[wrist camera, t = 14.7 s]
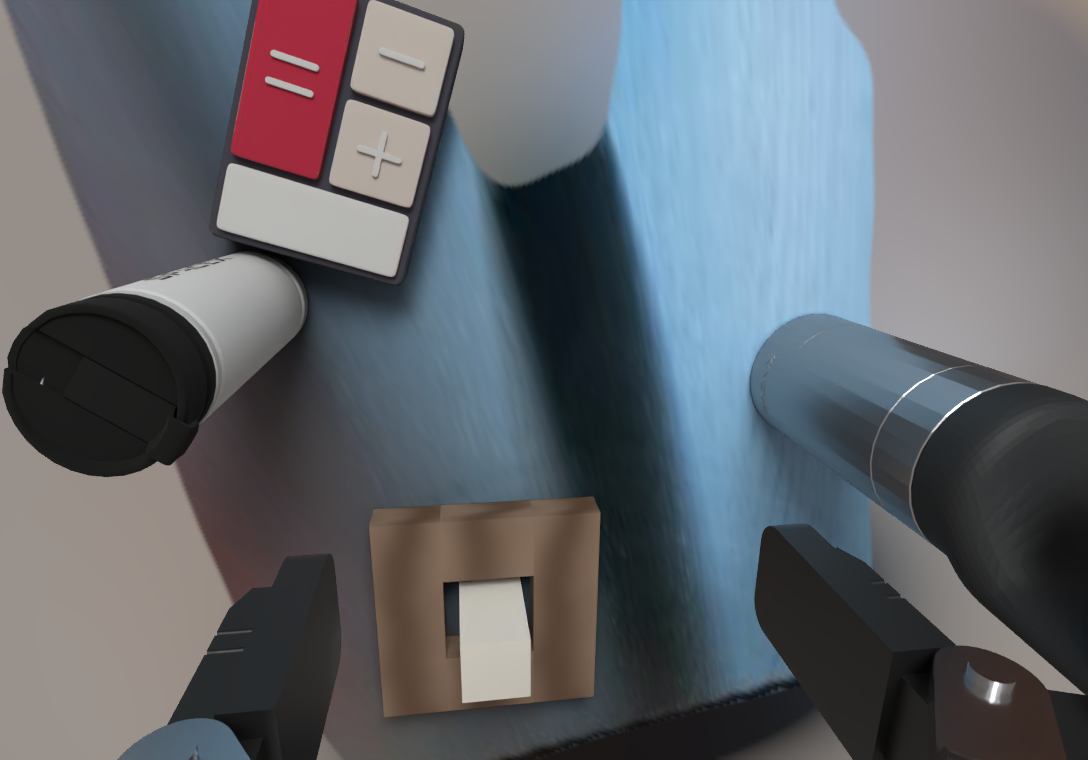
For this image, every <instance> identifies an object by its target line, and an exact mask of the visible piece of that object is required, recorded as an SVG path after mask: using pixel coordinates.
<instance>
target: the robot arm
mask: <svg viewBox="0 0 1088 760" xmlns="http://www.w3.org/2000/svg"><path fill="white" fill-rule="evenodd" d="M751 393H752V397H753V402H754V404H755V406H756V408H757V410H758V412H759V413H760V414H761V416H762V417H763V418H764V419H765V420H766V421H767V422H768V423H769V424H771V425H772V426H773V427H775V428H776V429H777V430H779V431H780V432H781V433H783V434H784V435H785V436H787V437H788V438H789V439H791V440H792V441H793V442H794V443H796V444H797V445H798V446H800V447H801V448H802V449H804V450H805V451H806V452H808V453H809V454H810V455H812V456H813V457H814V458H816V459H817V460H818V461H820V462H821V463H823V464H824V465H825V466H827V467H828V468H829V469H831V470H832V471H833V472H835V473H836V474H837V475H839V476H840V477H841V478H843V479H844V480H845V481H847V482H848V483H849V484H851V485H852V486H854V487H855V488H856V489H858V490H859V491H860V492H862V493H863V494H864V495H866V496H867V497H868V498H870V499H871V500H872V501H874V502H875V503H876V504H878V505H879V506H881V507H882V508H883V509H885V510H886V511H887V512H889V513H890V514H891V515H893V516H895V517H896V518H897V519H898V520H900V521H901V522H902V523H904V524H905V525H907V526H908V527H909V528H911V529H912V530H913V531H915V532H916V533H917V534H919V535H920V536H921V537H923V538H924V539H925V540H927V541H928V542H929V543H931V544H932V545H934V546H935V547H936V548H938V549H939V550H940V551H942V552H943V553H944V554H945V555H947V557H948V559H949V561H950V562H951V564H952V566H953V568H954V570H955V572H956V573H957V575H958V577H959V579H960V580H961V581H962V583H963V584H964V586H965V587H966V588H967V589H968V590H969V592H970V593H971V594H972V595H973V596H974V597H975V598H976V599H977V600H978V601H979V602H980V603H981V604H982V605H983V606H984V607H985V608H986V609H988V610H989V611H990V612H991V613H992V614H993V615H994V616H996V617H997V618H998V619H999V620H1000V621H1001V622H1003V623H1004V624H1005V625H1006V626H1007V627H1008V628H1009V629H1011V630H1012V631H1013V632H1014V633H1015V634H1016V635H1017V636H1019V637H1020V638H1021V639H1022V640H1023V641H1024V642H1025V643H1027V644H1028V645H1029V646H1030V647H1031V648H1032V649H1034V650H1035V651H1036V652H1037V653H1038V654H1039V655H1040V656H1042V657H1043V658H1044V659H1045V660H1046V661H1047V662H1048V663H1050V664H1051V665H1052V666H1053V667H1054V668H1055V669H1057V670H1058V671H1059V672H1060V673H1061V674H1062V675H1063V676H1064V677H1066V678H1067V679H1068V680H1069V681H1070V682H1071V683H1072V684H1074V685H1075V686H1076V687H1077V688H1078V689H1079V690H1080V691H1082V692H1083V693H1084V694H1085V695H1080V694H1073V693H1066V692H1059V691H1052V690H1047V689H1046V688H1045V686H1044V685H1043V684H1042V683H1041V681H1040V680H1039V679H1038V678H1037V677H1036V676H1034V675H1033V674H1032V673H1031V672H1030V671H1028V670H1027V669H1025V668H1024V667H1022V666H1021V665H1019V664H1018V663H1016V662H1014V661H1012V660H1010V659H1008V658H1006V657H1004V656H1001V655H999V654H997V653H994V652H991V651H988V650H985V649H981V648H977V647H971V646H957V645H955V644H954V643H953V642H952V641H951V640H950V639H949V638H948V637H947V636H945V635H944V634H943V633H942V632H941V631H940V630H939V629H938V628H937V627H936V626H934V625H933V624H932V623H931V622H930V621H929V620H928V619H927V618H926V617H924V616H923V615H922V614H921V613H920V612H919V611H918V610H917V609H915V607H913V606H912V605H911V604H910V603H909V602H908V601H907V600H906V599H904V598H901V597H900V594H899V593H898V592H897V591H896V590H895V589H893V588H892V587H891V586H890V585H889V584H888V583H886V584H885V583H884V579H882V578H881V577H880V576H879V575H878V574H877V573H876V572H875V571H874V570H873V569H872V568H870V567H869V566H868V565H867V564H866V563H865V562H863V561H861V560H859V559H858V558H856V557H854V556H852V555H850V554H848V553H846V552H845V551H843V550H841V549H839V548H834V547H833V546H831V545H830V544H829V543H828V542H827V541H826V540H825V539H824V538H823V537H822V536H821V535H820V534H819V533H818V532H817V531H816V530H814V529H813V528H812V527H811V526H810V525H808V524H793V525H778V526H768V527H766V528H765V530H764V531H763V534H762V538H761V546H760V555H759V563H758V571H757V580H756V588H755V610H756V615H757V619H758V622H759V624H760V626H761V629H762V630H763V632H764V633H765V635H766V636H767V638H768V639H769V641H770V642H771V643H772V645H773V646H774V648H775V649H776V651H777V652H778V653H779V655H780V656H781V658H782V659H783V661H784V662H785V663H786V665H787V666H788V668H789V669H790V670H791V672H792V673H793V675H794V676H795V678H796V679H797V680H798V682H799V683H800V685H801V686H802V688H803V689H804V690H805V692H806V693H807V695H808V696H809V698H810V699H811V700H812V702H813V703H814V705H815V706H816V708H817V709H818V710H819V712H820V713H821V715H822V716H823V717H824V719H825V720H826V722H827V723H828V725H829V726H830V727H831V729H832V730H833V732H834V733H835V735H836V736H837V737H838V739H839V740H840V742H841V743H842V745H843V746H844V747H845V749H846V750H847V752H848V753H849V755H850V756H851V757H852V759H853V760H1088V401H1087V400H1085V399H1082V398H1080V397H1077V396H1075V395H1071V394H1068V393H1066V392H1062V391H1059V390H1056V389H1053V388H1050V387H1047V386H1043V385H1039V384H1037V383H1033V382H1031V381H1027V380H1025V379H1022V378H1019V377H1016V376H1013V375H1010V374H1006V373H1004V372H1001V371H997V370H995V369H992V368H989V367H985V366H982V365H979V364H976V363H973V362H970V361H966V360H964V359H961V358H958V357H955V356H952V355H949V354H946V353H943V352H940V351H937V350H934V349H931V348H928V347H925V346H922V345H919V344H916V343H913V342H910V341H907V340H904V339H901V338H898V337H895V336H893V335H890V334H886V333H884V332H881V331H877V330H875V329H872V328H870V327H866V326H863V325H860V324H857V323H854V322H851V321H848V320H845V319H842V318H839V317H836V316H832V315H827V314H810V315H806V316H802V317H798V318H796V319H794V320H792V321H790V322H787V323H786V324H785V325H783V326H782V327H780V328H779V329H777V330H776V331H775V332H774V333H773V334H772V335H771V336H770V337H769V338H768V339H767V340H766V342H765V343H764V345H763V346H762V348H761V349H760V351H759V353H758V355H757V357H756V360H755V362H754V364H753V369H752V374H751ZM340 652H341V626H340V616H339V606H338V596H337V586H336V575H335V566H334V560H333V557H332V555H331V554H318V555H303V556H288V557H286V558H285V560H284V562H283V564H282V566H281V568H280V570H279V573H278V575H277V577H276V579H275V581H274V584H273V586H272V587H265V588H252V589H251V590H250V591H249V592H248V593H247V594H246V595H244V596H243V597H242V598H241V599H240V600H239V601H238V602H236V603H235V604H234V605H233V606H232V607H231V608H230V609H229V610H228V612H227V614H226V616H225V618H224V620H223V621H222V623H221V625H220V627H219V629H218V631H217V636H215V637H214V638H213V640H212V642H211V644H210V646H209V648H208V650H207V655H204V657H203V659H202V661H201V663H200V665H199V666H198V668H197V670H196V672H195V674H194V676H193V678H192V680H191V682H190V683H189V685H188V687H187V689H186V691H185V693H184V695H183V697H182V698H181V700H180V702H179V704H178V706H177V708H176V710H175V711H174V713H173V715H172V717H171V719H170V721H169V723H168V725H167V726H164V727H162V728H160V729H157V730H155V731H153V732H152V733H150V734H148V735H146V736H145V737H143V738H142V739H140V740H139V741H138V742H136V743H134V744H133V745H132V746H131V747H130V748H129V749H127V750H126V751H125V752H124V753H123V754H122V755H121V756H120V757H119V759H117V760H316V759H317V755H318V751H319V747H320V742H321V738H322V734H323V730H324V726H325V722H326V718H327V713H328V709H329V705H330V701H331V697H332V692H333V688H334V684H335V680H336V676H337V672H338V667H339V661H340Z"/></svg>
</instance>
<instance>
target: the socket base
mask: <svg viewBox="0 0 1088 760" xmlns="http://www.w3.org/2000/svg"><path fill="white" fill-rule="evenodd" d="M369 533H370V545H371V558H372V570H373V583H374V595H375V608H376V621H377V633H378V646H379V658H380V671H381V684H382V696H383V709H384V717H393V716H403V715H413V714H423V713H433V712H443V711H453V710H463V709H473V708H483V707H494V706H504V705H514V704H524V703H534V702H544V701H554V700H564V699H574V698H584V697H594V672H595V645H596V618H597V591H598V563H599V536H600V511H599V509H598V507H597V504H596V502H595V500H594V498H593V497H578V498H561V499H543V500H526V501H508V502H491V503H473V504H455V505H438V506H420V507H403V508H385V509H373V513H372V517H371V521H370V525H369ZM524 576H530V629H529V633H530V639H531V696H529V697H519V698H509V699H499V700H489V701H479V702H469V703H462V683H461V657H460V635H456V636H446V617H445V594H444V582H456V581H469V580H483V579H497V578H511V577H524Z"/></svg>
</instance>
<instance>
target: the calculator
mask: <svg viewBox="0 0 1088 760" xmlns="http://www.w3.org/2000/svg"><path fill="white" fill-rule="evenodd" d="M463 43H464V30H463V28H462V26H460V25H459V24H457V23H454V22H451V21H448V20H446V19H443V18H441V17H438V16H435V15H433V14H430V13H427V12H424V11H421V10H419V9H417V8H414V7H411V6H408V5H406V4H403V3H400V2H398V1H395V0H252V4H251V10H250V15H249V20H248V25H247V31H246V36H245V41H244V46H243V52H242V57H241V62H240V67H239V73H238V78H237V83H236V88H235V94H234V99H233V104H232V109H231V115H230V120H229V125H228V130H227V136H226V141H225V146H224V151H223V157H222V162H221V167H220V172H219V178H218V183H217V188H216V193H215V199H214V204H213V209H212V214H211V220H210V226H209V228H210V231H211V233H212V234H213V235H215V236H218V237H221V238H224V239H228V240H232V241H235V242H239V243H242V244H246V245H250V246H253V247H257V248H260V249H264V250H268V251H271V252H275V253H278V254H282V255H286V256H289V257H293V258H296V259H300V260H304V261H307V262H311V263H314V264H318V265H322V266H325V267H329V268H332V269H336V270H340V271H343V272H347V273H350V274H354V275H358V276H361V277H365V278H368V279H372V280H376V281H379V282H383V283H386V284H390V285H399V284H401V283H402V281H403V280H404V279H405V277H406V274H407V270H408V266H409V262H410V258H411V254H412V250H413V246H414V242H415V238H416V234H417V230H418V226H419V222H420V217H421V213H422V209H423V205H424V201H425V197H426V193H427V189H428V185H429V181H430V177H431V173H432V169H433V165H434V161H435V157H436V153H437V149H438V145H439V141H440V137H441V133H442V129H443V126H444V122H445V118H446V114H447V110H448V106H449V102H450V98H451V94H452V90H453V86H454V82H455V78H456V74H457V70H458V66H459V62H460V58H461V54H462V49H463Z"/></svg>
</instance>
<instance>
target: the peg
mask: <svg viewBox="0 0 1088 760" xmlns="http://www.w3.org/2000/svg"><path fill="white" fill-rule="evenodd" d="M459 608H460V657H461V683H462V703H469V702H479V701H489V700H499V699H509V698H519V697H529V696H531V639H530V633H529V627H528V622H527V616H526V610H525V604H524V598H523V592H522V586H521V581H520V577H511V578H497V579H483V580H469V581H459Z"/></svg>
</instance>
